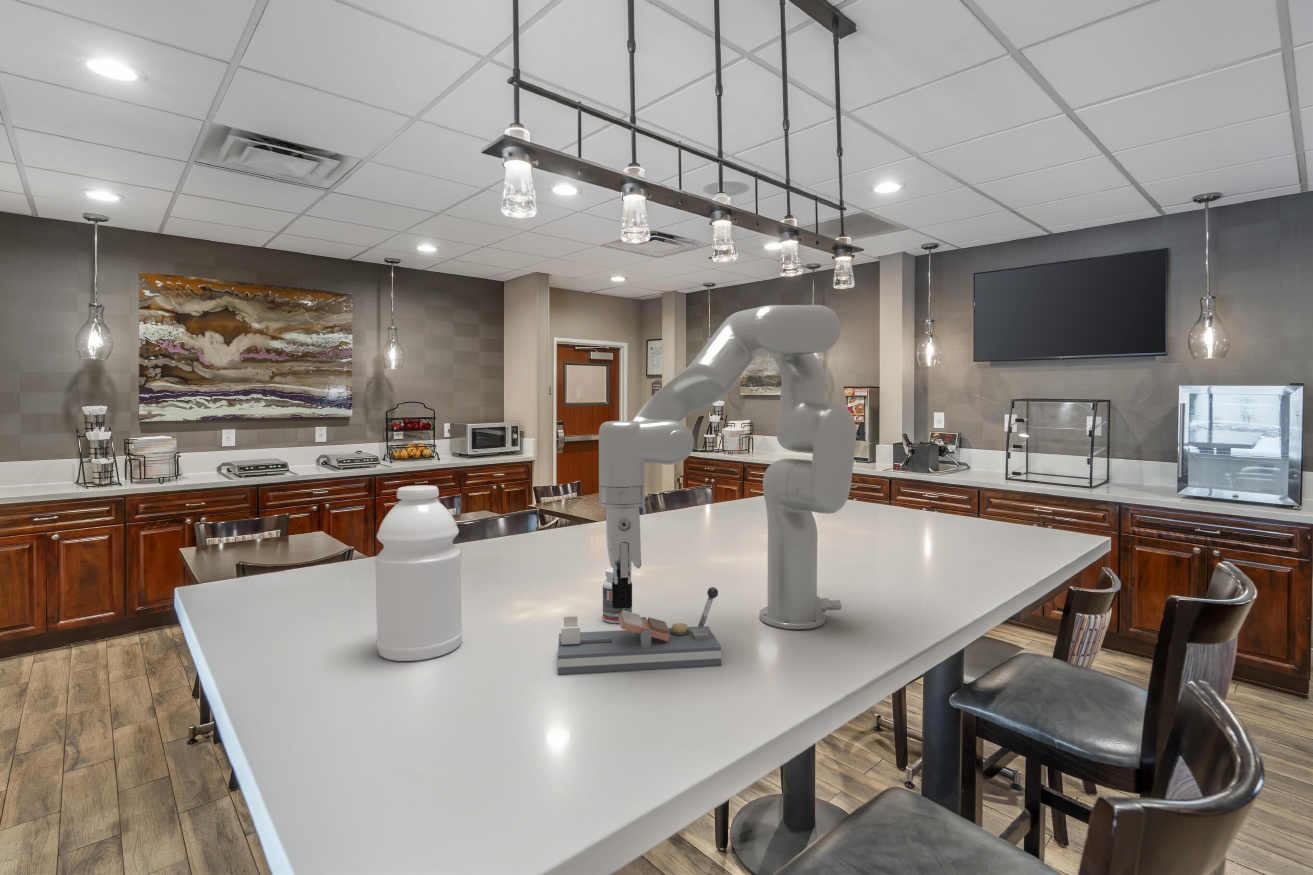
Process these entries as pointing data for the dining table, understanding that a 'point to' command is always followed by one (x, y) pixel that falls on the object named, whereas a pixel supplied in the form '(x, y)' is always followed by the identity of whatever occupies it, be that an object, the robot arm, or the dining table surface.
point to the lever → (707, 606)
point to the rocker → (643, 625)
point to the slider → (570, 630)
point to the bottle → (418, 578)
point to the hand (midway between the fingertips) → (622, 606)
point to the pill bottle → (610, 600)
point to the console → (639, 650)
